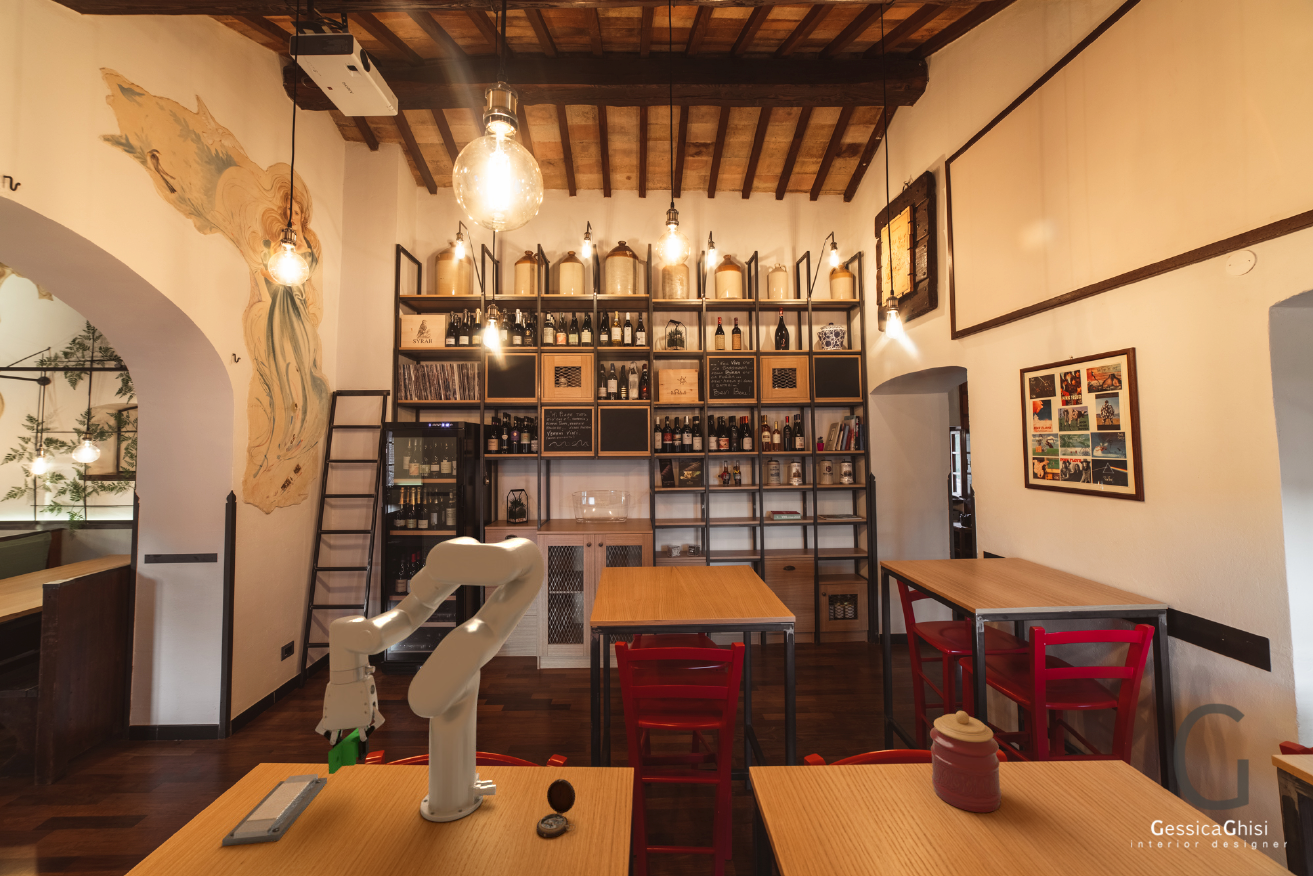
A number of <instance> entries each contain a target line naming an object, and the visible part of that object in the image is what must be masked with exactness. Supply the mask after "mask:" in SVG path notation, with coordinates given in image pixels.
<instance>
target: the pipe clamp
mask: <svg viewBox="0 0 1313 876" xmlns="http://www.w3.org/2000/svg"><path fill="white" fill-rule="evenodd" d="M343 739H344V740H343V741H341V742H340V743H339V744H338V745H336V746H335V747H334V748H333V747H332V749H330V750H329V751H328V754H327V756H328V757H327V758H328V762H327V763H328V774H329V775H334V774H336V772H338V771H339V770H340V769H341V768H342V767H351V766H355V765H356V764H357V758H358V742H359V741H360V735H359V731H358V728H355V730H353V732H351V733H350V734H349V735H347V736H346V737H345V738H343Z"/></svg>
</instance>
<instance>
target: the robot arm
mask: <svg viewBox="0 0 1313 876" xmlns="http://www.w3.org/2000/svg"><path fill="white" fill-rule="evenodd" d="M545 571H546V570H545V561H544V557H543V554H542V552H541V550H540V548H539V547H538V545H537V544H536V543H535V542H534V541H533V540H531V539H528V538H525V537H512V538H509V539H505V540H503V541H500V542H496V543H481V542H480V541H479V540H477V539H476V538H473V537H471V536H460V537H455V538H452V539H449V540H445V541H442V542H439V543H438V544H436V545H434V547H432V548H431V549H430V551H429V552H428V555H426V559H425V565H424V566H423V567H422V568H421V569H420V570H419V571H417V573H415V575H413V577H412V578H411V579H410V582H409V589H410V592H409V593H408V595H407V596H405V597H404V598H403V599H401V601H400V602H399V603H398V604H397V605H396V606H394V607H393V608H392V609H390V610H388V611H386V612H383V613H380V614H378V615H376V616H374V617H370V618H368V619H367V618H366V617H365V616H364V615H348V616H344V617H343V616H342V617H340V618H339V617H338V618H337V619H334V620H333V621H332V622H331V623H330V625H329V626H328V627H329V628H328V629H329V630H328V631H329V632H328V635H329V636H328V637H329V638H328V639H329V643H328V644H329V682H328V683H327V684H326V688H325V693H324V697H323V698H324V699H323V710H322V718H321V720H320V721H319V723H318V724H317V726H316V728H315V732H316V733H318V734H320V735H322V736H323V737H324V738H325V739H327V741H329V744H330V745H332V749H333V748H334V747H335V746H336V745H338V744H339V743H340V742H341V741H343V740H344V739H345V738H344V737H342V735H343V731H344V730H348V729H349V730H350V729H357V728H358V731H359V735H360V741H359V742H358V757H357V758H358V759H357V760H358V761H363V760H364V758H365V757H366V756H367V755H368V753H369V751H370V736H371V735H372V733H374V731H375V730H377V729H378V728H380V726H382V725H383V724H384V722H385V721H386V719H385V718H384V716H383V715H382V714H381V712H380V711H379V705H378V704H379V703H378V695H377V694H378V693H377V689H376V683H375V679H374V676H373V675H372V674H373V673H375V671H376V666H374V665H370V662H369V656H370V655H371V656H372V655H378V654H379V653H382V652H384V651H385V650H387V649H389V648H391V647H392V646H394V645H396V644H398V643H400V642H402V641H404V640H406V639H407V638H408V637H409V636H410V635H412V634H413V633H414V632H415V631H417V630H418V628H420V627H421V626H422V625H423V624H424V623H425V622H426V621H428V619H430V617H431V616H432V615H433V614H434V613H435V611H436V610H438V608H439V606H440V605H441V604H442V603H443V602H444V601H445V600H446V599H447V598H448V597H450V596H451V594H453V593H454V592H455V591H456V590H457V589H459V588H460V586H461V585H462V586H484V587H486V586H487V587H490V586H491V587H493V586H494V587H496V588H495V590H494V591H493V592H492V593H491V594H490V595H489V597H488V599H486V601H485V602H484V604H483V605H482V606H481V608H480V609H479V610H478V611H477V612H476V614H475V615H474V616H473V617H471V618H469V619H468V620H466V621H465V622H463V623H461V624H460V625H459V626H457V627H455V628H454V629H452V630H451V631H449V633H448V634H447V635H446V636H445V637H444V638H443V639H442V640H441V641H440V642H439V644H438V645H437V647H435V649H434V650H433V651H432V653H431V654H430V656H428V658H427V659H426V661H425V662H424V663H423V664H422V666H421V667H420V669H419V670H418V671H417V673H416V674H415V675H414V677H413V678H412V680H411V682H410V684H409V687H408V691H407V701H408V705H409V707H410V709H411V710H412V712H413V713H414V714H415V715H417V716H419V717H421V718H424V719H425V718H428V719H429V732H428V738H429V739H428V794H426V795H425V797H423V799H422V800H421V802H420V815H421V816H422V817H423V818H424V819H426V820H428V821H430V822H437V823H438V822H439V823H442V822H444V823H445V822H452V821H454V820H459V819H461V818H464V817H465V816H468V815H470V814H471V813H473V812H474V811H475V810H477V809H478V808H479V806H480V805H481V804H482V802H483V799H484V796H496V793H497V784H493V780H492V779H487V780H482V779H480V773H479V772H477V771H476V769H477V767H476V766H477V760H476V759H477V756H476V755H477V747H476V746H477V707H478V706H477V704H478V697H479V696H478V695H479V689H480V682H481V681H480V680H481V668H482V667H484V666H485V665H486V664H488V662H489V661H490V660H492V659H494V658H493V657H495V656H496V655H497V654H498V653H499V651H500V650H501V648H502V646H503V645H504V644H505V642H506V641H507V640H508V638H509V637H510V635H511V634H512V633H513V631H514V630H515V629H516V628H517V626H518V625H519V623H520V622H521V621H522V619H523V618H524V616H525V615H526V613H527V612H528V610H529V609H530V608H531V607H532V605H533V604H534V602H535V601H536V599H537V597H538V595H539V593H540V591H541V588H542V586H543V583H544V578H545ZM497 586H498V587H497ZM372 721H374V722H373V723H372ZM371 723H372V724H371ZM370 724H371V725H370ZM476 772H477V773H476Z"/></svg>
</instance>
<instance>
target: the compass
mask: <svg viewBox="0 0 1313 876" xmlns="http://www.w3.org/2000/svg"><path fill="white" fill-rule="evenodd" d="M575 792H576V791H575V789H574V786H573V785H572V783H571V782H569V781H568V780H567V779H563V778H558V779H555V780H554V781H553V782H552V783H551V784H550V785H549V786H548V789H547V792H546V794H547V795H546V797H547V798H546V799H547V802H548V804H549V807H550V808H551V810H553V812H555V813H549V814H546V815H544V816H543V817H542V818H540V819H539V820H538V821H537V824H536V832H537V834H539V836H542V837H545V838H555V837H558V836H560V835H562V834H563V833H565V832H566V830H567V831H568V832H569V831H573V830H575V829H576V825H575V824H574V823H570V824H569V822H568V819H567V817H566V816H564V815H563V814H566V813H567V812H568V813H569V811H570V810H571V809H572V808H573V807H574V805H575V802H576V793H575ZM570 826H574V828H572V829H571V828H570Z"/></svg>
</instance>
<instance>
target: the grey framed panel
mask: <svg viewBox="0 0 1313 876" xmlns="http://www.w3.org/2000/svg"><path fill="white" fill-rule="evenodd" d="M327 783H328V777H319V773H313V774H312V773H311V774H297V775H289V777H287V778H286V779H285V780H281V781H279V782H278V783H277V784H276V785H275V786H274V787H273V788H272V789H271V790H270V791H269V793H267V794H266V795H265V796H264V797H263V798H262V799H261V800H260V801H259V802H258V803H257V805H255V806H254V807H253V808H252V809H251V810H250V811H249V812H248V813H247V814H246V815H245V817H243V818H242V819H241V820H240V822H238V823H237V825H235V826H234V828H232V829H231V831H229V832H228V833H227V834H226V835H225V836H224V837H223V838H222V841H221V847H227V846H228V847H230V846H238V845H249V844H250V845H251V844H258V843H271V842H279V841H280V840H281V838H282V837H283V836H284V835H285V834H286V833H287V831H288V830H289V829H290V827H291V826H292V825H293V824H294V823H295V821H297V819H298V818H299V817H300V815H301V814H303V812H304V811H305V810H306V809H307V808H308V806H309V805H310V804H311V803H312V801H313V800H314V799H315V798H316V797H317V795H318V794H319V793H320V792H321V791H322V789H323V788H324V787H325V786H326V785H327ZM325 784H326V785H325ZM323 786H324V787H323ZM320 790H321V791H320ZM314 797H315V798H314ZM288 828H289V829H288Z"/></svg>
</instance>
